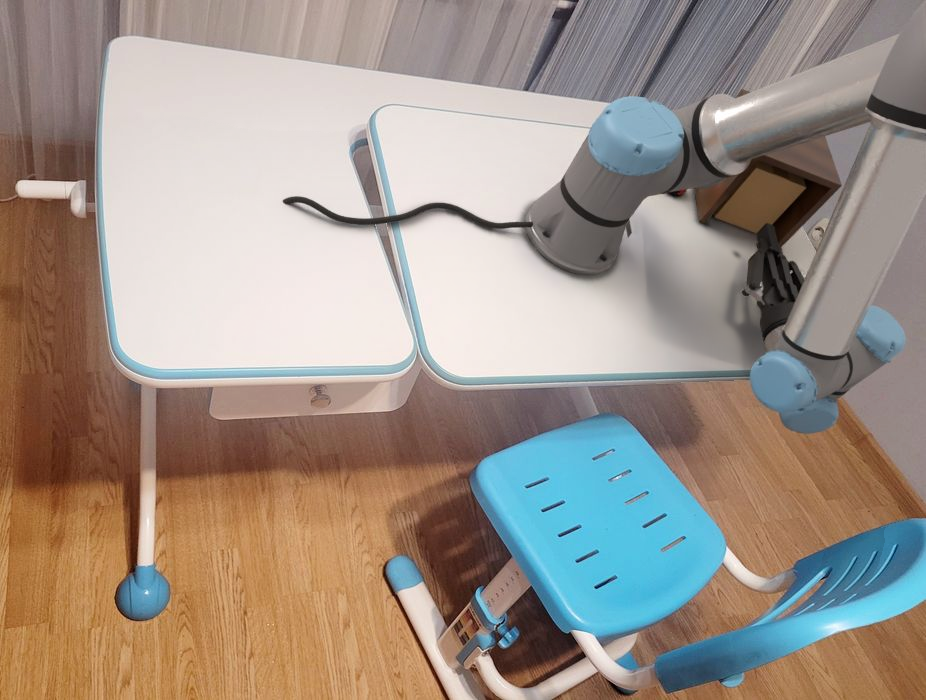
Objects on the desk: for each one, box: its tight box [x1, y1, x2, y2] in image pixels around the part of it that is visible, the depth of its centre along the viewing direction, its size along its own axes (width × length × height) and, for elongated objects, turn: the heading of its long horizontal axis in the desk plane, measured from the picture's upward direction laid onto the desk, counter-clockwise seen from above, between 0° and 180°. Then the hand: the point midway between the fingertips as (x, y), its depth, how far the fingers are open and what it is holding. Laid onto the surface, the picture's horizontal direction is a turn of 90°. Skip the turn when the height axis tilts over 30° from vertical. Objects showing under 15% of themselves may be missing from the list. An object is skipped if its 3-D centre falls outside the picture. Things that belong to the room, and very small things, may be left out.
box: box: [713, 160, 806, 234], centre depth 137 cm, size 14×10×12 cm
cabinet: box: [693, 88, 843, 248], centre depth 135 cm, size 18×16×16 cm
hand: (764, 229), depth 128 cm, fingers closed
